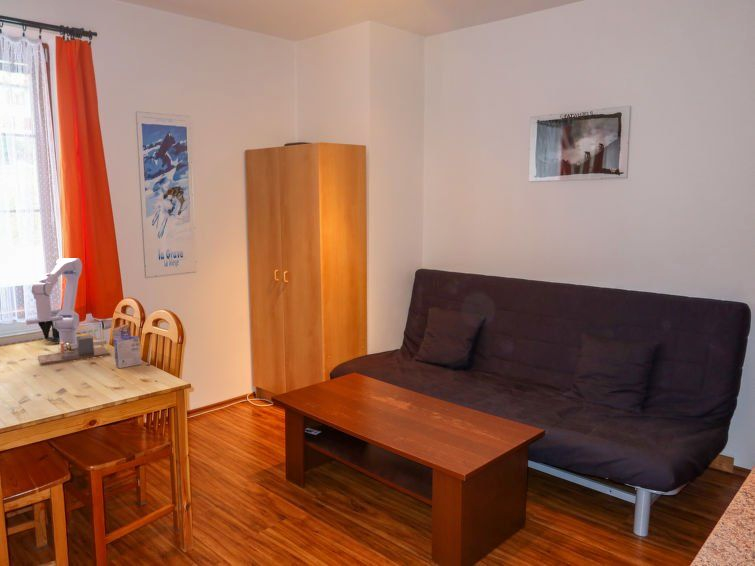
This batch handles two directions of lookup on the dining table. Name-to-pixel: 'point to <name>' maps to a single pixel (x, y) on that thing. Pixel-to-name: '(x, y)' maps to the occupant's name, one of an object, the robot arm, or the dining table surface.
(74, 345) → the shaft
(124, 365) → the ink cartridge box
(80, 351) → the bearing base
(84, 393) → the dining table surface
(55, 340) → the milk frother
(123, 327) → the candy box
